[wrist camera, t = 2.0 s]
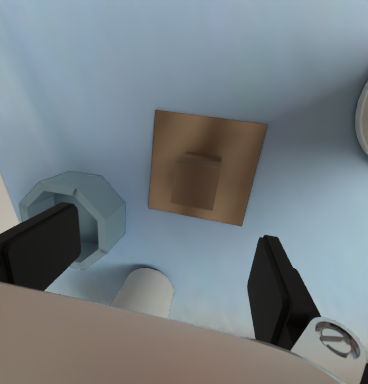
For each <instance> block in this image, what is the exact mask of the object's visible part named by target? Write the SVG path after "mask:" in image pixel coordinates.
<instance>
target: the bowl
mask: <svg viewBox="0 0 368 384" xmlns="http://www.w3.org/2000/svg"><path fill="white" fill-rule="evenodd" d="M60 202H67V203H73V204H75V206H76V207H77V208H78V215H79V228H80V240H81V254H80V256H79V257H78V258H77V259H76V260H75V261H74V262H73V263H72V264H71V265H70V266H69V267H72V268H76V269H81V270H85V269H86V268H87V267H89V266H90V265H92V264H93V263H94V262H96V261H97V260H99V259H100V258H101V257H103V256H104V255H106V254H107V253H108V252H109V251H110V250H111V248H112V247H113V246H114V245H115V244H116V243H117V241H118V240H119V239H120V238H121V237H122V236H123V234H124V233H125V202H124V201H123V200H122V198H121V197H120V196H119V195H118V194H117V193H116V192H115V190H114V189H113V188H112V187H111V186H110V185H109V184H108V183H107V181H106V180H105V179H104V178H103V177H102V176H98V175H92V174H85V173H78V172H72V171H69V172H66V173H63V174H60V175H57V176H54V177H51V178H48V179H46V180H43V181H40V182H38V184H37V185H36V186H35V187H34V188H33V189H32V190H31V191H30V192H29V193H28V194H27V195H26V196H25V198H24V199H23V200H22V201H21V202H20V203H19V208H20V213H21V219H22V222H24V221H26V220H28V219H30V218H32V217H34V216H35V215H37V214H39V213H41V212H43V211H45V210H47V209H49V208H51V207H53V206H55V205H57V204H58V203H60Z"/></svg>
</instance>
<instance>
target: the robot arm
mask: <svg viewBox="0 0 368 384" xmlns="http://www.w3.org/2000/svg"><path fill="white" fill-rule="evenodd" d="M355 130H356V134H357V138H358V141H359V143H360V145H361V147H362V149H363V151H364V152H365V153H366V154H367V155H368V81H367V83H366V84H365V86H364V88H363V90H362V93H361V95H360V98H359V100H358V104H357V109H356V113H355ZM80 254H81V240H80V228H79V215H78V208H77V207H76V206H75V204H73V203H67V202H60V203H58V204H57V205H55V206H53V207H51V208H49V209H47V210H45V211H43V212H41V213H39V214H37V215H35V216H34V217H32V218H30V219H28V220H26V221H24V222H22V223H20V224H18V225H16V226H14V227H12V228H11V229H9V230H7V231H5V232H3V233H1V234H0V384H368V363H366V361H367V352H366V350H365V347H364V345H363V344H362V343H361V341H360V340H359V338H358V337H357V336H356V335H355V334H354V333H353V332H352V331H350V330H349V329H348V328H346V327H345V326H344V325H342V324H340V323H338V322H336V321H334V320H332V319H329V318H324V317H321V315H320V313H319V311H318V309H317V307H316V305H315V304H314V302H313V300H312V298H311V296H310V294H309V292H308V290H307V288H306V286H305V284H304V282H303V280H302V278H301V276H300V275H299V273H298V271H297V270H296V269H295V268H293V267H292V265H291V263H290V261H289V259H288V257H287V255H286V253H285V251H284V249H283V247H282V245H281V243H280V241H279V239H278V237H274V236H268V235H264V237H263V238H262V237H260V238H259V240H258V244H257V248H256V252H255V256H254V260H253V264H252V268H251V272H250V276H249V280H248V285H247V289H248V296H249V302H250V308H251V314H252V320H253V326H254V332H255V338H256V340H255V339H252V338H248V337H244V336H240V335H237V334H233V333H229V332H224V331H220V330H216V329H211V328H207V327H203V326H199V325H194V324H190V323H185V322H181V321H177V320H172V319H168V318H163V317H159V316H155V315H150V314H146V313H141V312H137V311H132V310H128V309H123V308H119V307H114V306H110V305H105V304H101V303H96V302H92V301H87V300H83V299H78V298H73V297H69V296H64V295H60V294H55V293H50V292H46V291H44V290H45V289H46V288H47V287H48V286H49V285H50V284H51V283H52V282H53V281H54V280H56V279H57V278H58V277H59V276H60V275H61V274H62V273H63V272H64V271H65V270H66V269H67V268H68V267H69V266H70V265H71V264H72V263H73V262H74V261H75V260H76V259H77V258H78V257H79V256H80Z"/></svg>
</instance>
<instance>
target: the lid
mask: <svg viewBox="0 0 368 384" xmlns="http://www.w3.org/2000/svg"><path fill="white" fill-rule="evenodd" d="M266 128H267V125H266V124H258V123H251V122H243V121H236V120H228V119H221V118H213V117H206V116H198V115H191V114H183V113H176V112H168V111H161V110H155V124H154V138H153V152H152V166H151V180H150V194H149V208H150V209H155V210H160V211H165V212H170V213H175V214H181V215H186V216H191V217H196V218H201V219H206V220H212V221H217V222H222V223H227V224H232V225H237V226H242V224H243V220H244V216H245V212H246V208H247V204H248V200H249V196H250V192H251V188H252V184H253V180H254V176H255V172H256V168H257V164H258V160H259V156H260V152H261V148H262V144H263V140H264V136H265V132H266Z"/></svg>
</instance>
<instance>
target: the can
mask: <svg viewBox="0 0 368 384" xmlns="http://www.w3.org/2000/svg"><path fill="white" fill-rule="evenodd" d="M173 296H174V289H173V286H172V284H171V282H170V280H169V279H168V278H167V277H166V276H165V275H164V274H162V273H161V272H159V271H157V270H154V269H150V268H140V269H136V270H134V271H132V272H131V273H130V274H129V275H128V277H127V278H126V280H125V282H124V283H123V285H122V287H121V288H120V290H119V292H118V293H117V295H116V297H115V298H114V300H113V301H112V303H111V305H110V306H114V307H119V308H123V309H128V310H132V311H137V312H141V313H146V314H150V315H155V316H159V317H163V318H168V314H169V311H170V307H171V303H172V300H173Z"/></svg>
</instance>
